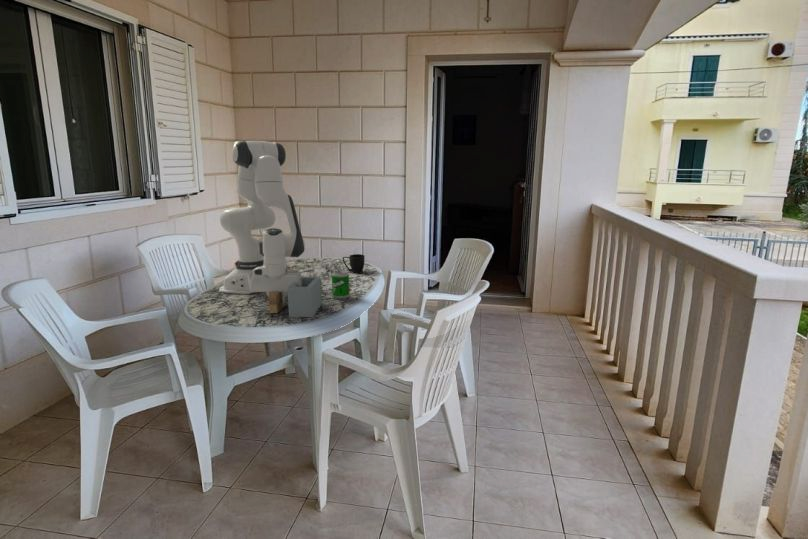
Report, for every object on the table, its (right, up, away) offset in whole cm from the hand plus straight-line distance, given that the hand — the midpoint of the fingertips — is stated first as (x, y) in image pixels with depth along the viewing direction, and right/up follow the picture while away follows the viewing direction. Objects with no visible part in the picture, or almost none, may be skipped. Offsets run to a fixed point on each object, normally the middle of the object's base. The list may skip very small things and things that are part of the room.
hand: (277, 302), depth 185 cm
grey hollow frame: (+12, -3, -1) cm, 12 cm away
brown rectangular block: (0, -3, +1) cm, 3 cm away
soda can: (+24, +1, +17) cm, 29 cm away
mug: (+24, +12, +64) cm, 70 cm away
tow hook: (+22, +3, +29) cm, 37 cm away
